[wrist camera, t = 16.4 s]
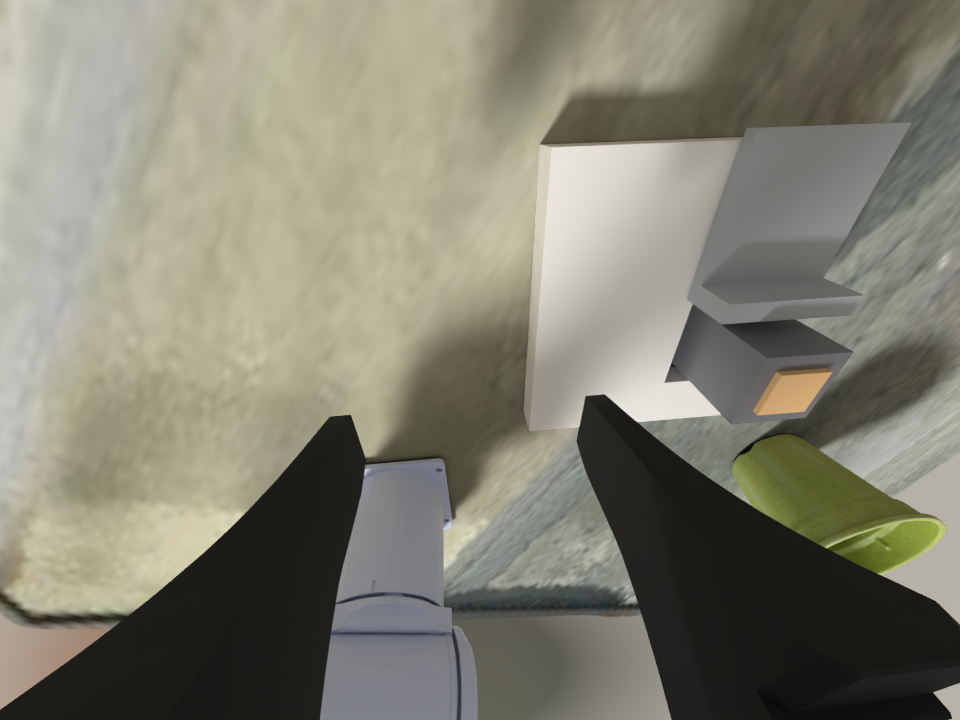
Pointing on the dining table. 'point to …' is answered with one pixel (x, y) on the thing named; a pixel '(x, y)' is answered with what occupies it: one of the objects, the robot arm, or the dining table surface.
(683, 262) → the socket board
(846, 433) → the dining table surface
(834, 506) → the plant pot
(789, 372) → the grey rectangular block
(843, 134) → the shutter
